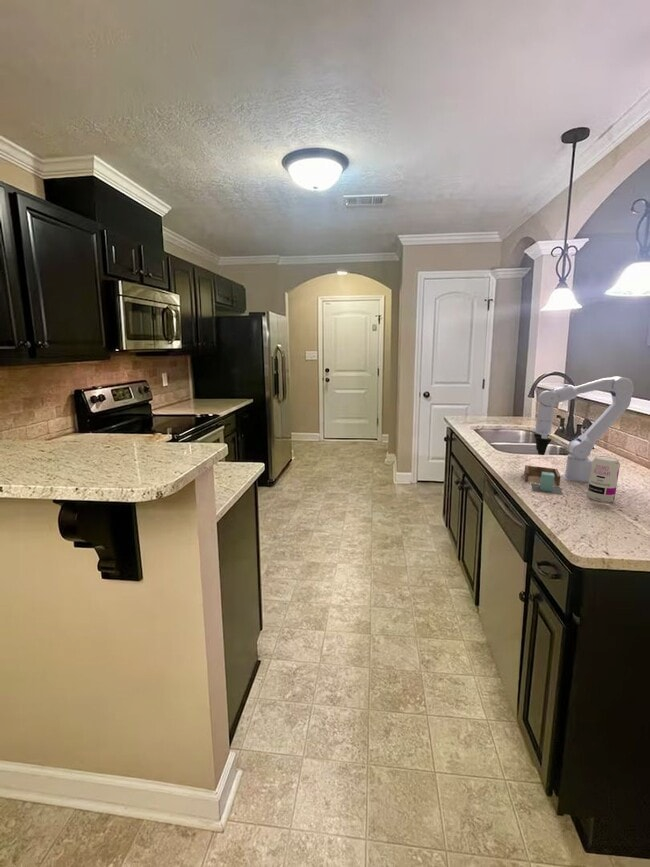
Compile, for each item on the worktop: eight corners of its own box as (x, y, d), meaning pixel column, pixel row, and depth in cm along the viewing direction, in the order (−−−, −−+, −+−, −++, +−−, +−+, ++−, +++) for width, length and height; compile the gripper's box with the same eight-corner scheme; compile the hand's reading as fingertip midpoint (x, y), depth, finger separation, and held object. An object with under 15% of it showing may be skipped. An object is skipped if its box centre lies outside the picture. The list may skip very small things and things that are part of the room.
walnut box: (556, 478, 177) (557, 468, 176) (559, 486, 166) (560, 476, 165) (524, 474, 181) (525, 465, 180) (525, 482, 170) (526, 472, 170)
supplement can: (610, 497, 155) (616, 456, 152) (617, 504, 147) (623, 462, 144) (584, 494, 157) (590, 454, 154) (590, 501, 150) (596, 460, 147)
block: (551, 488, 162) (553, 473, 161) (552, 491, 159) (554, 475, 158) (539, 486, 164) (541, 471, 163) (540, 489, 160) (542, 474, 159)
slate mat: (559, 488, 164) (559, 487, 164) (562, 496, 155) (563, 495, 155) (531, 484, 168) (531, 483, 168) (532, 492, 159) (532, 491, 159)
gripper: (532, 416, 183) (528, 447, 186) (535, 422, 170) (531, 455, 173) (550, 418, 181) (546, 449, 184) (555, 423, 168) (550, 457, 170)
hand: (540, 452), depth 178 cm, fingers open, 7 cm apart
